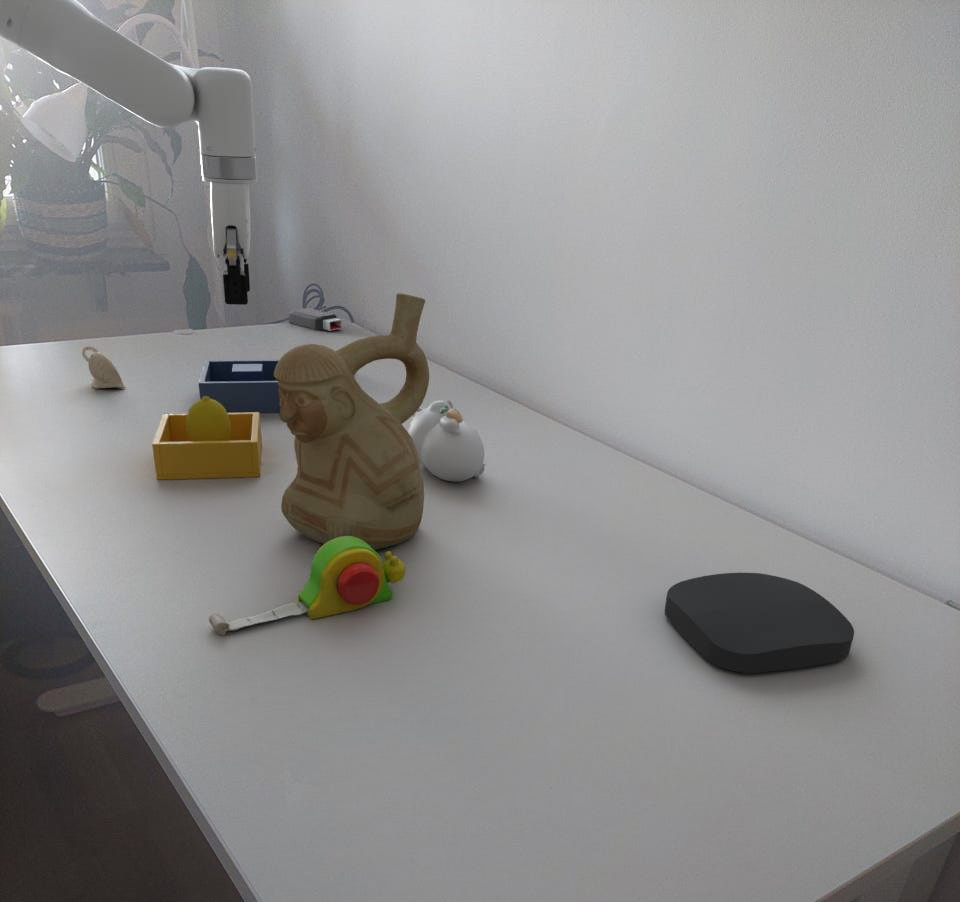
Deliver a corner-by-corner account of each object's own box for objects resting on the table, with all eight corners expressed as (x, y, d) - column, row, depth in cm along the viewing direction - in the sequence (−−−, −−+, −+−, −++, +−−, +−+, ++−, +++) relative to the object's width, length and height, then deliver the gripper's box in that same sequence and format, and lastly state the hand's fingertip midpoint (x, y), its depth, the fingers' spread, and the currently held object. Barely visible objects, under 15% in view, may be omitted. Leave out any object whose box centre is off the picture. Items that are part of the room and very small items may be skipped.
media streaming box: (722, 682, 84) (727, 652, 82) (650, 605, 96) (654, 577, 94) (866, 662, 87) (874, 633, 86) (779, 590, 100) (785, 564, 98)
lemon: (181, 456, 127) (174, 395, 123) (218, 447, 130) (212, 388, 126) (205, 467, 123) (198, 405, 119) (242, 457, 127) (236, 397, 123)
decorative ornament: (100, 392, 152) (95, 358, 150) (83, 380, 158) (77, 347, 155) (126, 389, 154) (121, 355, 152) (108, 377, 160) (103, 344, 157)
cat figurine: (482, 417, 116) (427, 372, 127) (429, 457, 116) (378, 408, 126) (510, 473, 123) (455, 426, 133) (460, 510, 123) (409, 460, 133)
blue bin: (201, 413, 145) (198, 383, 142) (207, 388, 156) (204, 360, 154) (294, 412, 147) (292, 382, 145) (293, 387, 158) (291, 359, 156)
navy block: (264, 400, 150) (261, 371, 147) (234, 400, 149) (231, 371, 147) (264, 392, 153) (262, 363, 151) (235, 392, 153) (233, 363, 150)
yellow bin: (157, 479, 121) (152, 444, 118) (167, 447, 131) (162, 413, 129) (260, 476, 123) (257, 441, 120) (262, 444, 133) (259, 412, 131)
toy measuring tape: (419, 603, 94) (419, 542, 91) (222, 648, 86) (215, 582, 82) (391, 577, 99) (390, 518, 96) (202, 617, 90) (194, 553, 87)
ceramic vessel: (245, 532, 108) (223, 298, 95) (380, 490, 120) (376, 278, 107) (340, 583, 97) (329, 329, 85) (477, 532, 110) (485, 303, 97)
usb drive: (308, 319, 204) (307, 305, 202) (345, 329, 197) (345, 315, 195) (288, 322, 200) (287, 308, 199) (325, 332, 193) (325, 318, 192)
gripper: (205, 164, 142) (215, 286, 150) (196, 174, 127) (208, 308, 136) (258, 166, 143) (264, 287, 152) (255, 176, 129) (262, 309, 137)
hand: (238, 297), depth 144 cm, fingers open, 9 cm apart
